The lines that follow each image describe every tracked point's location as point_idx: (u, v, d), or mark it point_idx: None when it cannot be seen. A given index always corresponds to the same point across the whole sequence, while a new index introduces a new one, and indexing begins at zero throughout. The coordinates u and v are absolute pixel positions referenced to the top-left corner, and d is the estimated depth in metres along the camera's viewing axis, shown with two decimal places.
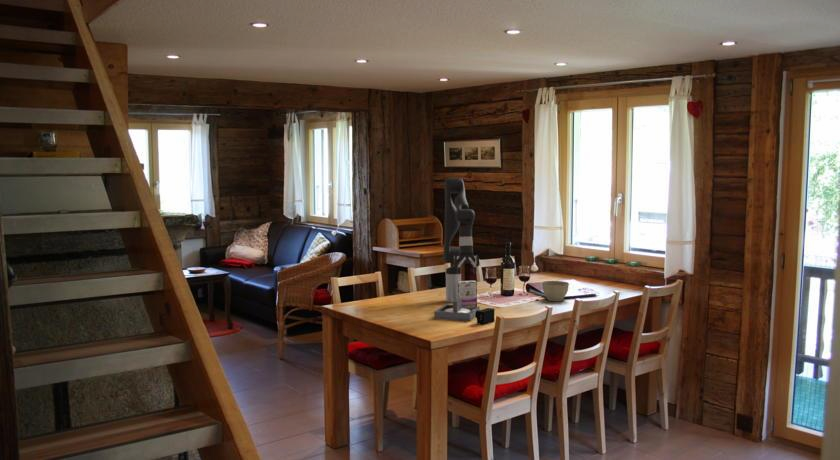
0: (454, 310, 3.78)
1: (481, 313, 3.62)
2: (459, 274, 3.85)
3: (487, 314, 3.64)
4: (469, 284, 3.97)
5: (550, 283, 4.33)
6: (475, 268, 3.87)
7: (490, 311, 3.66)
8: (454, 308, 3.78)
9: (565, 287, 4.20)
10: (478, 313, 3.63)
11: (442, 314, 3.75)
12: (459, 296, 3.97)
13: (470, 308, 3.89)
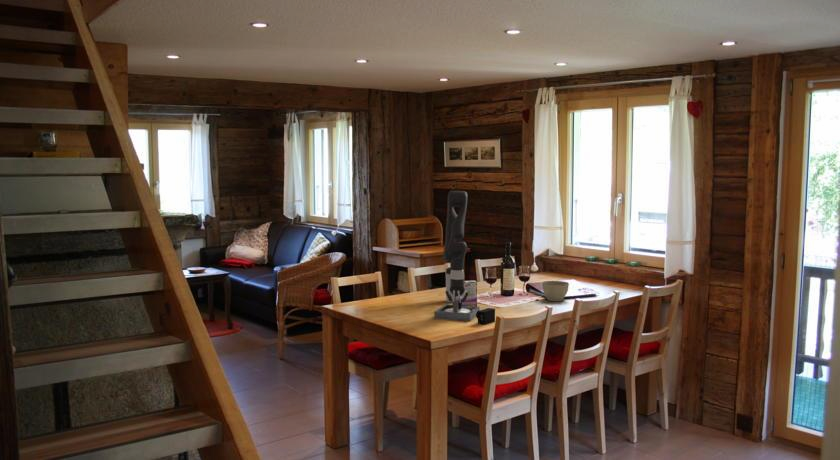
0: (454, 310, 3.78)
1: (482, 313, 3.62)
2: None
3: (488, 314, 3.64)
4: (469, 284, 3.97)
5: (550, 283, 4.33)
6: (460, 304, 3.81)
7: (491, 311, 3.66)
8: (454, 308, 3.78)
9: (565, 287, 4.20)
10: (479, 313, 3.63)
11: (442, 314, 3.75)
12: None
13: (470, 308, 3.89)
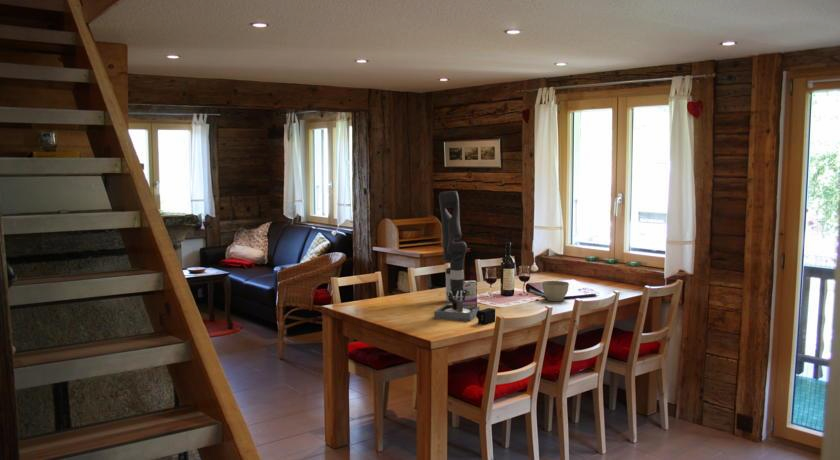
0: (460, 310, 3.78)
1: (482, 313, 3.62)
2: (455, 309, 3.81)
3: (488, 314, 3.64)
4: (469, 284, 3.97)
5: (550, 283, 4.33)
6: None
7: (491, 311, 3.66)
8: (460, 308, 3.78)
9: (565, 287, 4.20)
10: (479, 313, 3.63)
11: (442, 314, 3.75)
12: None
13: (470, 308, 3.89)
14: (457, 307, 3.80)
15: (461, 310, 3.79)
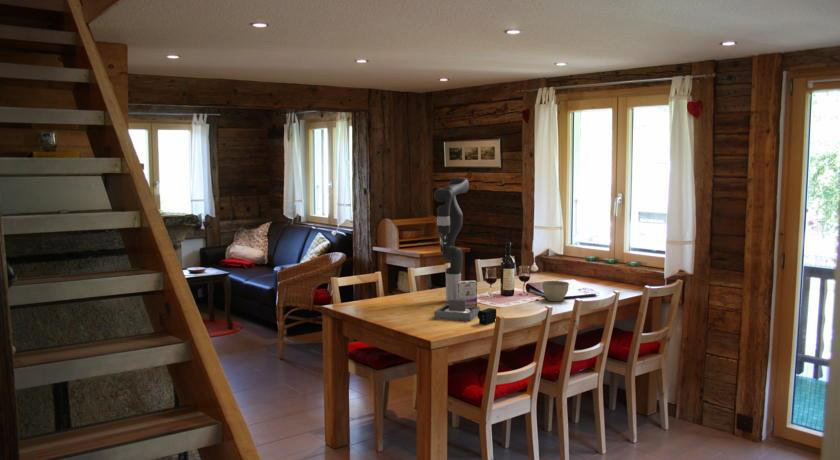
0: (465, 309, 3.81)
1: (483, 313, 3.62)
2: (445, 253, 3.92)
3: (489, 314, 3.64)
4: (469, 284, 3.97)
5: (550, 283, 4.33)
6: None
7: (492, 311, 3.66)
8: (465, 307, 3.81)
9: (565, 287, 4.20)
10: (480, 313, 3.63)
11: (442, 314, 3.75)
12: (459, 296, 3.97)
13: (470, 308, 3.89)
14: (461, 307, 3.81)
15: (465, 309, 3.82)
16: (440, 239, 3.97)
